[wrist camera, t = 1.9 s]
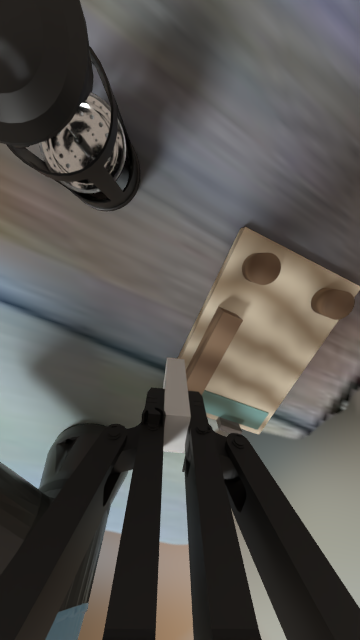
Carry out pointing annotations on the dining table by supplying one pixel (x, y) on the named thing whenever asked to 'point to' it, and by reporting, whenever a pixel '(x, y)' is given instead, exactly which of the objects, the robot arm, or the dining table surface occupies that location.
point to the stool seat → (266, 328)
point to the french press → (61, 102)
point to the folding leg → (211, 349)
